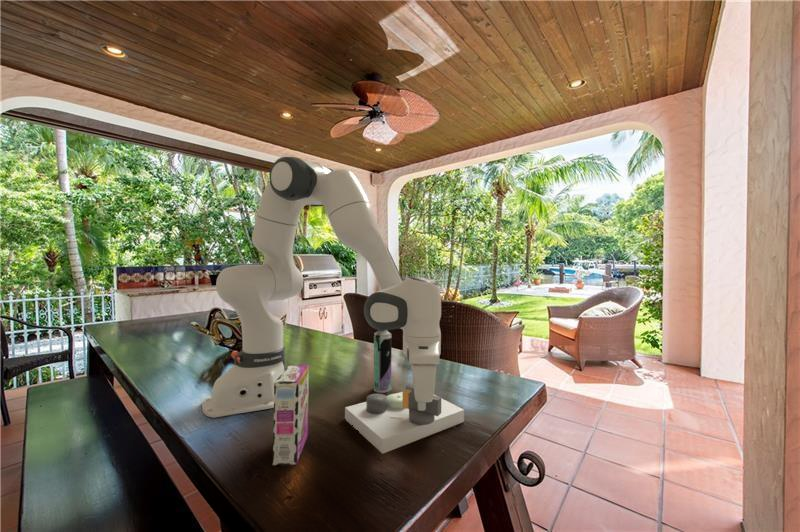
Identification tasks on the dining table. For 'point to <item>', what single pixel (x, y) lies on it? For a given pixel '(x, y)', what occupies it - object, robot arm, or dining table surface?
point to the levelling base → (396, 420)
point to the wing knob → (421, 416)
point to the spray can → (382, 361)
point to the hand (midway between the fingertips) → (420, 404)
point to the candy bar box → (290, 415)
